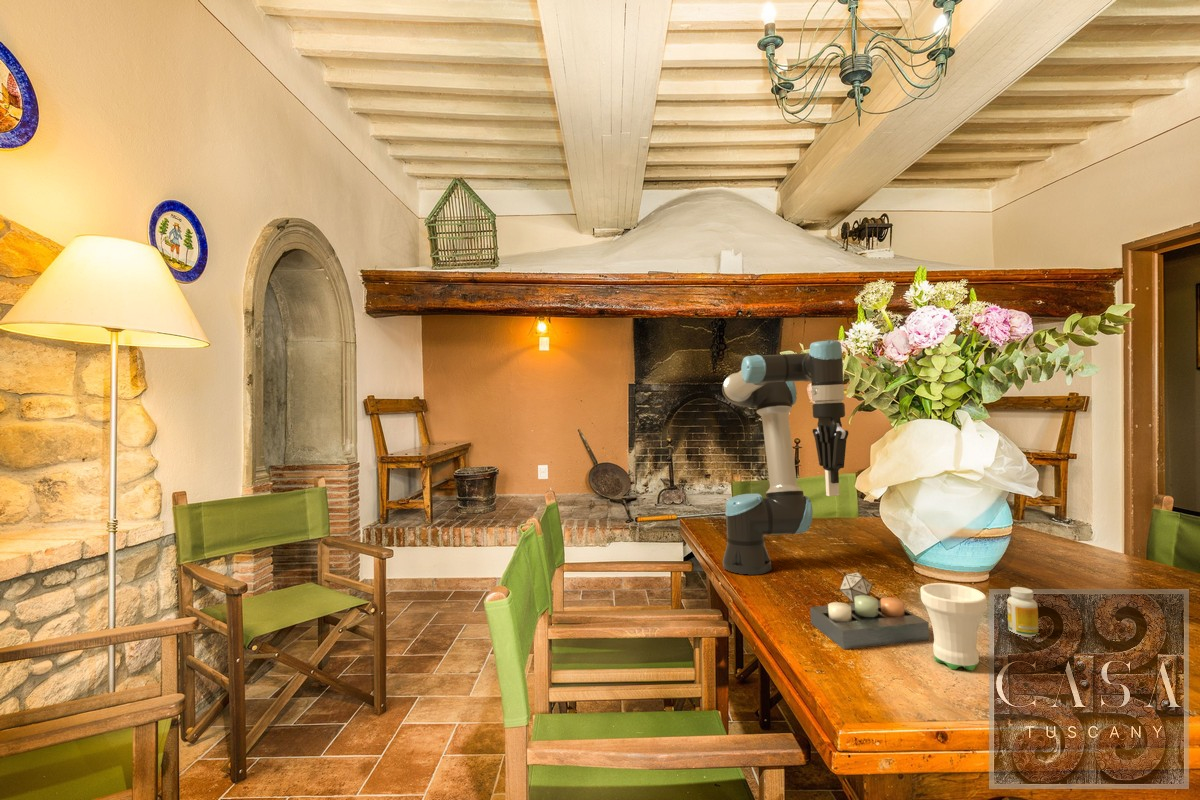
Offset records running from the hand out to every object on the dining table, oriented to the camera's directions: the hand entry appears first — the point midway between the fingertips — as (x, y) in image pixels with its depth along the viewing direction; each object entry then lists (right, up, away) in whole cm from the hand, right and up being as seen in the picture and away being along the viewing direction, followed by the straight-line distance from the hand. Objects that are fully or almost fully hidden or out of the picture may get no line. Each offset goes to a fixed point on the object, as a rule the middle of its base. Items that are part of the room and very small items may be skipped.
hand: (832, 495), depth 137 cm
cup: (+13, -29, -28) cm, 42 cm away
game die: (+9, -29, +6) cm, 31 cm away
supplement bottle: (+35, -28, -16) cm, 48 cm away
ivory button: (-4, -26, -13) cm, 29 cm away
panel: (+3, -29, -12) cm, 32 cm away
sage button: (+3, -25, -12) cm, 28 cm away
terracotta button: (+9, -26, -11) cm, 29 cm away
